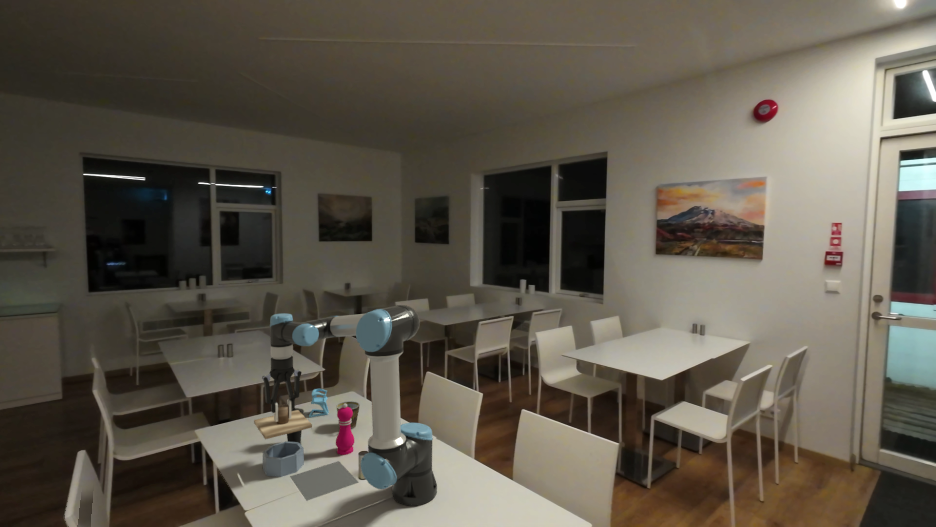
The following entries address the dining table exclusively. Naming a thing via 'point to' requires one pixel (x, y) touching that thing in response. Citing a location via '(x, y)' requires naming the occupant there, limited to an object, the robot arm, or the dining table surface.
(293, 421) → the lid
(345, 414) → the pepper mill
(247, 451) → the dining table surface
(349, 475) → the mat
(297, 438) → the drinking cup
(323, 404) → the chair
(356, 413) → the ceramic cup
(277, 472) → the bowl
